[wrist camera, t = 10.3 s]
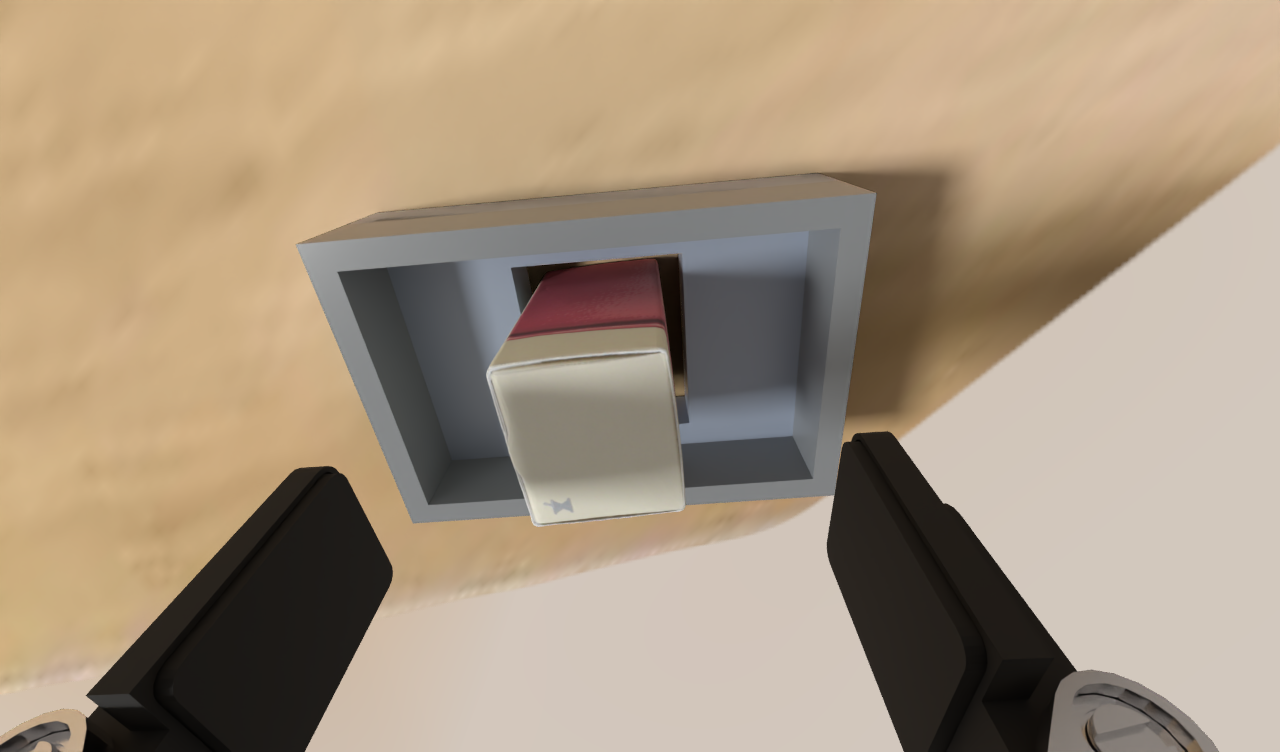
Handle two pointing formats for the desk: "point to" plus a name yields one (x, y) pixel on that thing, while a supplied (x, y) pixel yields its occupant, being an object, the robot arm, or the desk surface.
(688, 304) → the walled box
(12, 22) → the desk surface
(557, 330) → the small box
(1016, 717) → the robot arm
